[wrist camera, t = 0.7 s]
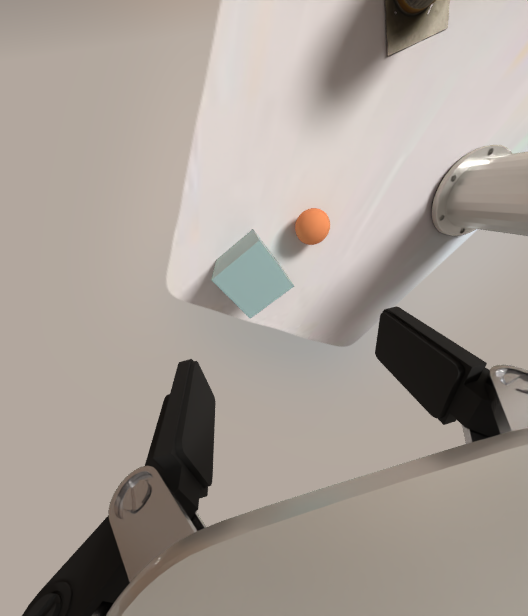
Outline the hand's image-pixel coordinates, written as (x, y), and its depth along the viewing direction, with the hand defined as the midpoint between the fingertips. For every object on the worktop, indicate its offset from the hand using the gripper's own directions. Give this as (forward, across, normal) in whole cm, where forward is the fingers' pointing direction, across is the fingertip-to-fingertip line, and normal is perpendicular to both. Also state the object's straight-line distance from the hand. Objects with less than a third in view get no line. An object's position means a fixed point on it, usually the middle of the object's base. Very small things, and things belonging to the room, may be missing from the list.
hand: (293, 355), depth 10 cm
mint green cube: (+26, 0, +3) cm, 26 cm away
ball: (+23, -10, -1) cm, 25 cm away
